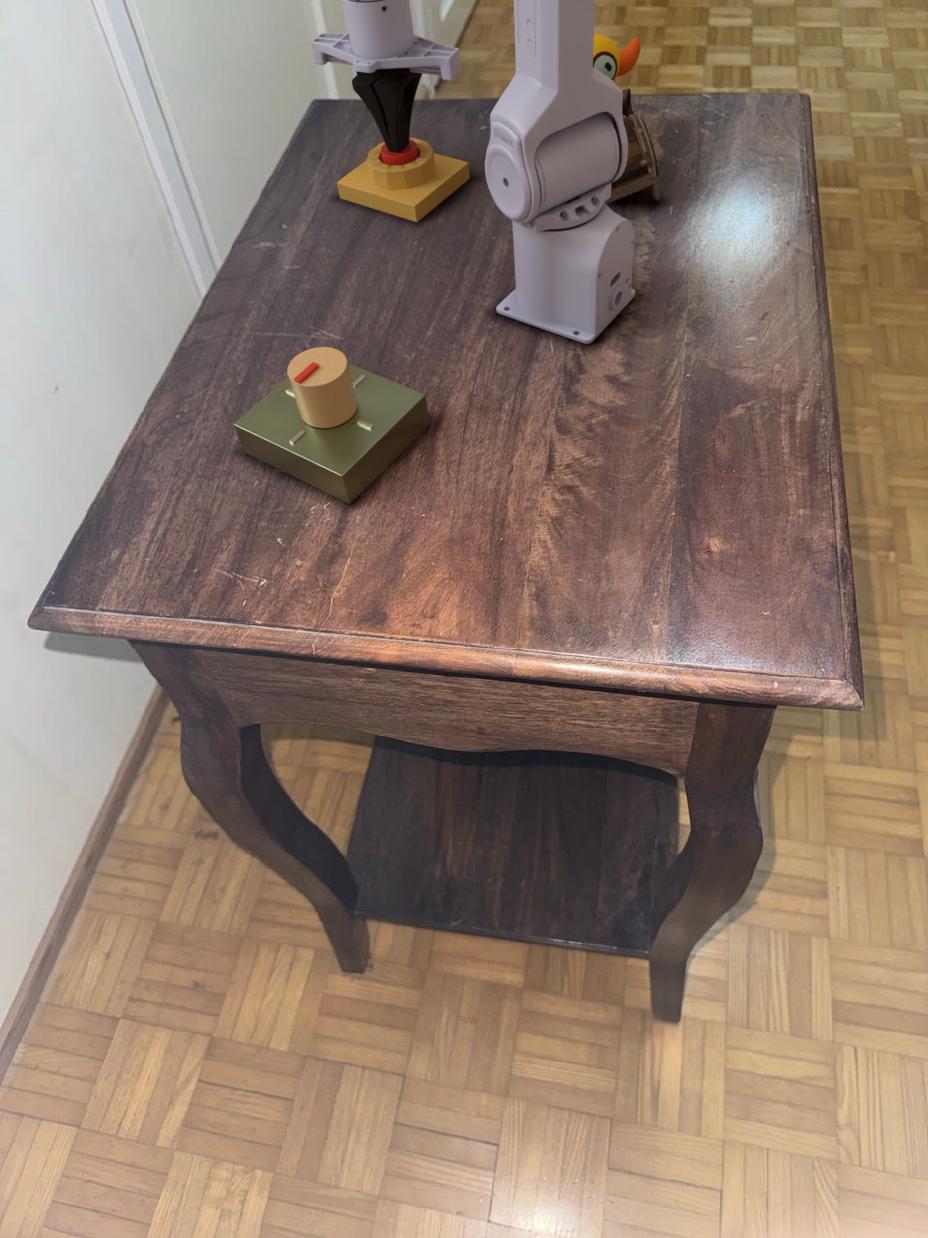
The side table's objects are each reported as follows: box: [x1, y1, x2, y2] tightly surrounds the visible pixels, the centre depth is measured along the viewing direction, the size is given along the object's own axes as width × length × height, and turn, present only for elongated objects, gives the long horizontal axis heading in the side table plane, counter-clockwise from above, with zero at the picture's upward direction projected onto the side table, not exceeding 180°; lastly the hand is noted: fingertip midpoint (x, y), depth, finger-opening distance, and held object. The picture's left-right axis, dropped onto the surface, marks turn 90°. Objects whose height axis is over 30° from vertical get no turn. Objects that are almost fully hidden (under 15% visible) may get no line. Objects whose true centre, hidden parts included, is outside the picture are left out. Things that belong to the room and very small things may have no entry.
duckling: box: [593, 33, 642, 83], centre depth 90 cm, size 11×5×10 cm, turn 110°
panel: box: [233, 362, 431, 505], centre depth 70 cm, size 11×10×3 cm
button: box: [381, 139, 418, 166], centre depth 90 cm, size 4×4×2 cm
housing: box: [336, 137, 471, 223], centre depth 91 cm, size 10×9×4 cm
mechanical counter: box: [605, 112, 661, 205], centre depth 85 cm, size 7×13×10 cm
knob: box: [286, 346, 357, 428], centre depth 67 cm, size 4×4×4 cm
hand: (398, 147), depth 89 cm, fingers closed, pressing on button
